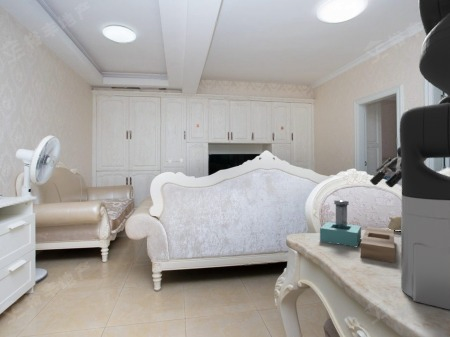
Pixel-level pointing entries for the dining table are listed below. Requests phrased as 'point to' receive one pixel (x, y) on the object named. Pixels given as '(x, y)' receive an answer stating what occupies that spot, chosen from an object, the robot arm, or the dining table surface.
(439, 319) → the dining table surface
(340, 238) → the holder
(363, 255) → the beam
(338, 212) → the axle
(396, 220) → the decorative ornament
